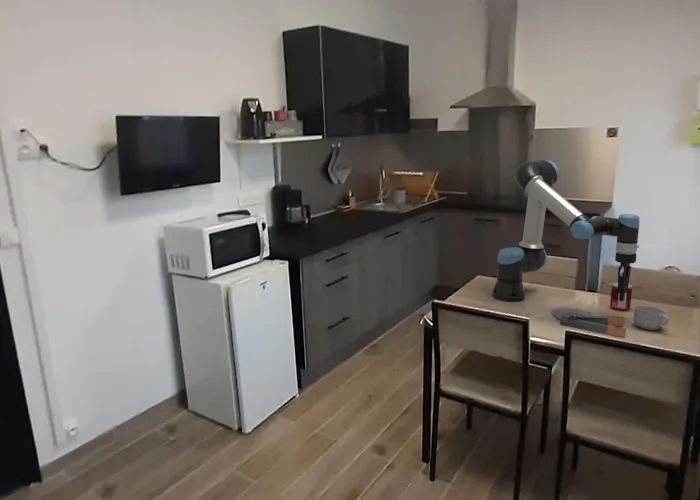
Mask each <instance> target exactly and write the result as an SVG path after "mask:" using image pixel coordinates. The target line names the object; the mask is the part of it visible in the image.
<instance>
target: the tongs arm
mask: <svg viewBox="0 0 700 500" xmlns="http://www.w3.org/2000/svg"><path fill="white" fill-rule="evenodd" d="M571 317H572V318H574V319H579V320H584V321H589V322H594V323H599V324H604V325H612V326H617V327H624V323H625V318H624V317H623V316H611V315H610V316H609V315H608V316H605V315H603V316H600V315H599V316H598V315H597V316H596V315H579V314H577V313H572V314H571Z"/></svg>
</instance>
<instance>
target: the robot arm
mask: <svg viewBox="0 0 700 500" xmlns="http://www.w3.org/2000/svg"><path fill="white" fill-rule="evenodd" d="M559 178H560V170H559V167H558V166H557V164H556V163H554V162H553V161H552V160H545V159H544V160H542V159H541V160H532V161H531V160H530V161H524V162H522V163H520V164H519V165H518V166H517V168H516V170H515V173H514V179H515V182H516V184H517V185H518V187H519V188H520V189H521V190H522V191H524V192H525V193H526V194H528V196H527V197H528V198H527V203H526V204H527V205H526V209H525V210H526V211H525V218H524V219H525V220H524V225H523V226H524V227H523V235H522V240H521V241H520V242H518V247H514V246H513V247H506V248H505V247H504V248H502V249H500V250H499V251H498V253H497V260H496V261H497V267H496V282H495V284H494V286H493V288H492V293H491V294H492V297H493V298H494V299H496V300H497V301H498V300H499V301H503V302H520V301H523V300H525V299H526V291H525V288H524V284H523V275H524V274H527V273H532V272H537V271H539V270H542V269H543V268H544V266H545V265H546V264H547V261H548V254H547V253H546V250H545V249H544V248H545V246H544V244H543V243H542V239H543V234H544V233H543V232H544V227H545V226H544V225H545V217H546V210H547V209H548V210H549V211H550V212H552V213H553V214H554V215H555V216H556V217H558V219H559V220H561V221H562V222H563V223H564V224H565V225H566V226H568V227H569V228H570V233H571V235H572V237H574V239H576V240H587V239H592V238H598V237H601V236H609V237H614V238H616V247H615V251H616V252H615V258H614V260H615V262H617V263H619V265H620V266H618V268H617V270H618V271H617V283H618V291H617V293H619V294H618V306H617V308H623V309H625V306H626V295H627V293H626V292H628V293H629V291H627V290H628V285H629V284H630V278H631V277H630V276H631V270H632V266H631V265H632V264H635V263H636V262H637V255H638V254H637V250H638V248H640V246H639V245H638V241H639V240H638V239H639V231H640V216H639V215H637V214H632V213H630V214H629V213H622V214H619V215H618V217H608V216H601V215H599V216H598V215H597V216H596V215H594V216H592V217H591V218H589V217H588V216H586V215H585V214H584V213H582V212H581V211H580V210H579V209H578V208H577V207H575V206H574V205H573V204H572V203H571V202H570V201H569V200H567V199H566V198H564V197H563V196H562V195H561V194H560V193H559V192H557V190H556V189H554V188H553V185H554V184H556V183H557V182H558V180H559Z"/></svg>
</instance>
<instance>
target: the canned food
mask: <svg viewBox="0 0 700 500" xmlns="http://www.w3.org/2000/svg"><path fill="white" fill-rule="evenodd" d="M617 291H618V282H613V283H612V284H611V291H610V301H609V307H610V309H612V310H614V311H617V310H618V311H619V312H629V311H630V309H631V304H632V297H633V296H632V294H633V285H632V284H630V283H629V285H628V290H627V291H629V293H628V292H626V293H627V295H626V306H625V309H623V308H617V306H618V294H619V293H617Z"/></svg>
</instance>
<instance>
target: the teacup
mask: <svg viewBox="0 0 700 500" xmlns="http://www.w3.org/2000/svg"><path fill="white" fill-rule="evenodd" d="M633 321H634V323H635V324H636V326H638V327H639V328H641V329H644V330H649V331H652V330H653V331H654V330H657V329H659V328H662V327H663V326H666V325H668V324H669V322H670V319H669V316H668V315H667V314H666V310H665V309H663V308H660V307H657V306H652V305H645V304H644V305H643V304H639V305H634V311H633Z"/></svg>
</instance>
